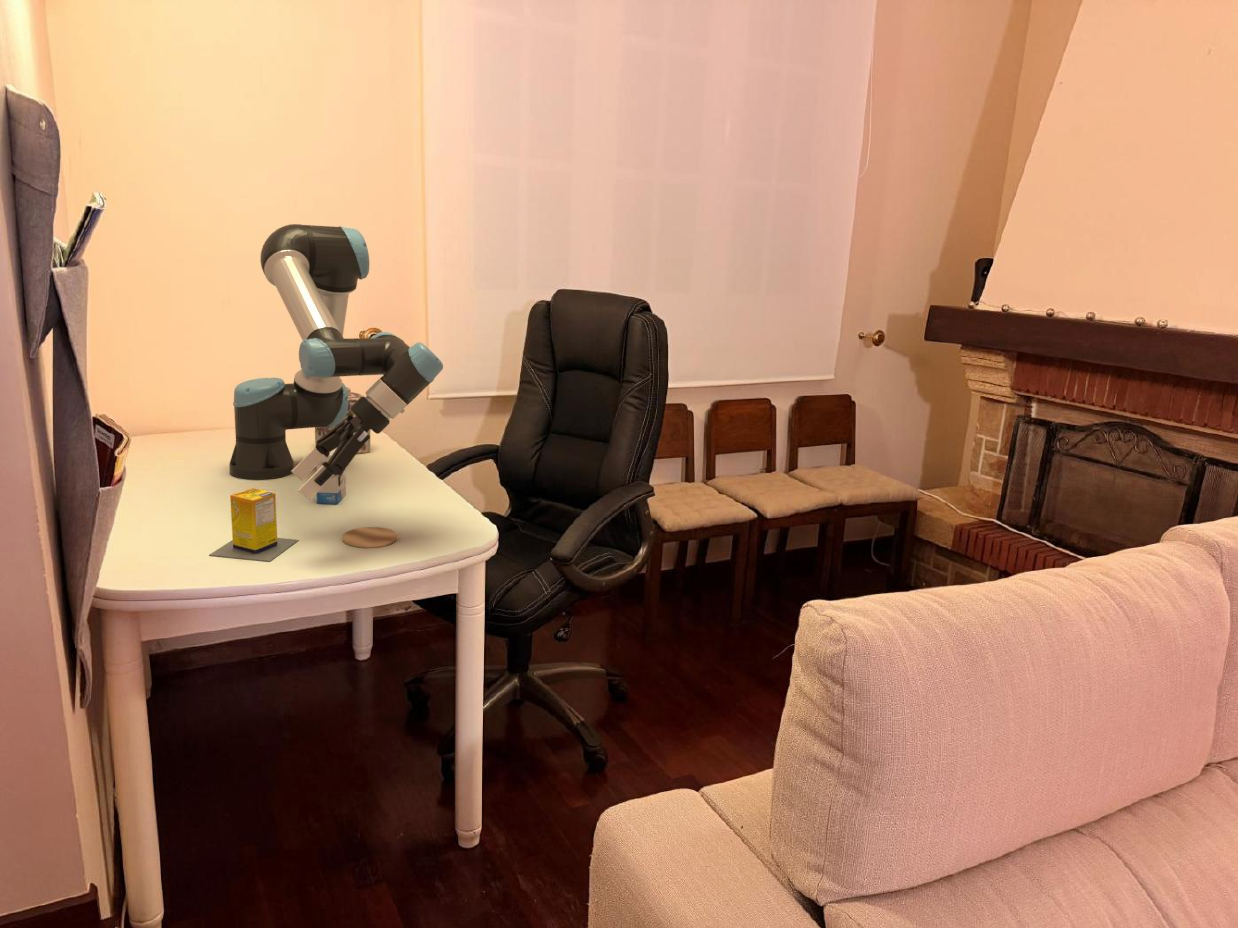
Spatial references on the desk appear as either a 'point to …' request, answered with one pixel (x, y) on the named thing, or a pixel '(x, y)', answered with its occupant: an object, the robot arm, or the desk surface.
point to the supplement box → (253, 520)
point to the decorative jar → (351, 400)
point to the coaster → (370, 537)
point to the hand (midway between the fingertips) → (299, 485)
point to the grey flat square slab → (260, 556)
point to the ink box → (332, 486)
